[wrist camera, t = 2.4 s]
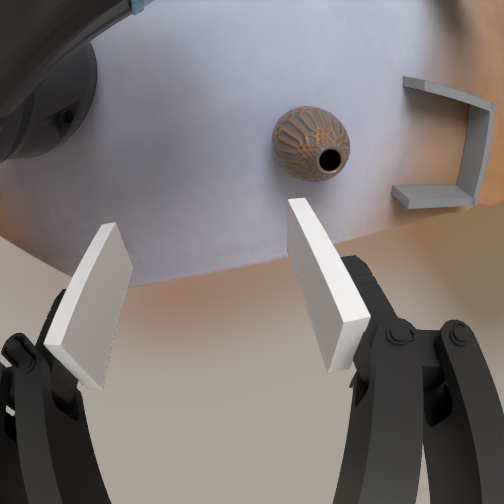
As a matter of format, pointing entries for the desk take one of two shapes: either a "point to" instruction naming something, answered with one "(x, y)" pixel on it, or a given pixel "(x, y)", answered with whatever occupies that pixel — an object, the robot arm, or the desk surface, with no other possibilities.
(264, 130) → the desk surface
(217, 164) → the desk surface
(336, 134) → the vase
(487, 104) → the box
